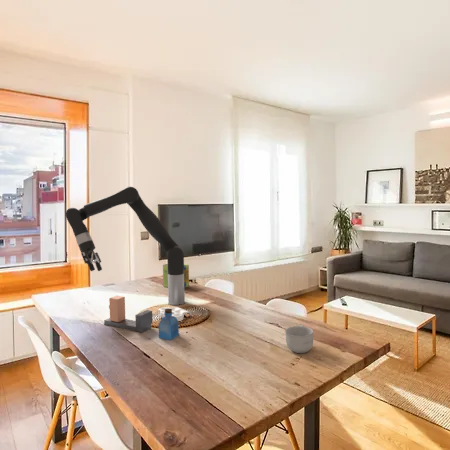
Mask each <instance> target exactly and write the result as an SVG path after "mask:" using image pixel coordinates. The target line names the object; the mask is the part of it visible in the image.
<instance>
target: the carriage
mask: <svg viewBox="0 0 450 450" xmlns="http://www.w3.org/2000/svg"><path fill="white" fill-rule="evenodd" d="M125 298H126V297H125V296H124V295H123V296H122V295H115V296H113V297H109V301H108V302H109V305H108V309H109V318H110V321H114V322H120V321H122V320H124V319H126V299H125Z"/></svg>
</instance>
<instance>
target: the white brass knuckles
mask: <svg viewBox="0 0 450 450" xmlns="http://www.w3.org/2000/svg"><path fill="white" fill-rule="evenodd" d="M165 309H172V316H175V317H176V319H177V320H178V321H181V320H183V321H184V318H183V317H184V315H185V314H186V313H187V314H189V315H191V316H192V312H191V311H187V310H186V309H184V308H181V307H179V306H173V307H166V306H165V307H160V308H158V312H157V317H159V318H160V317H162V318H163V317H165V315H164V312H165ZM181 322H182V321H181Z"/></svg>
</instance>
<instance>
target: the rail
mask: <svg viewBox="0 0 450 450" xmlns="http://www.w3.org/2000/svg"><path fill="white" fill-rule="evenodd" d="M103 321H104V323H103V324H104V325H106V326H111V327H115V328H118V329H119V328H121V329H125V330H128V331H129V330H130V331H134V332H139V333H146V331H148V330H151V329H152V324H153V310H149V309H146V310H144V311H142V312H139V313H137V314H135V320H132V319H127V318H125V319H124V320H122V321H120V322H114V321H110V317H109V318H106V319H104V320H103Z"/></svg>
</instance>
